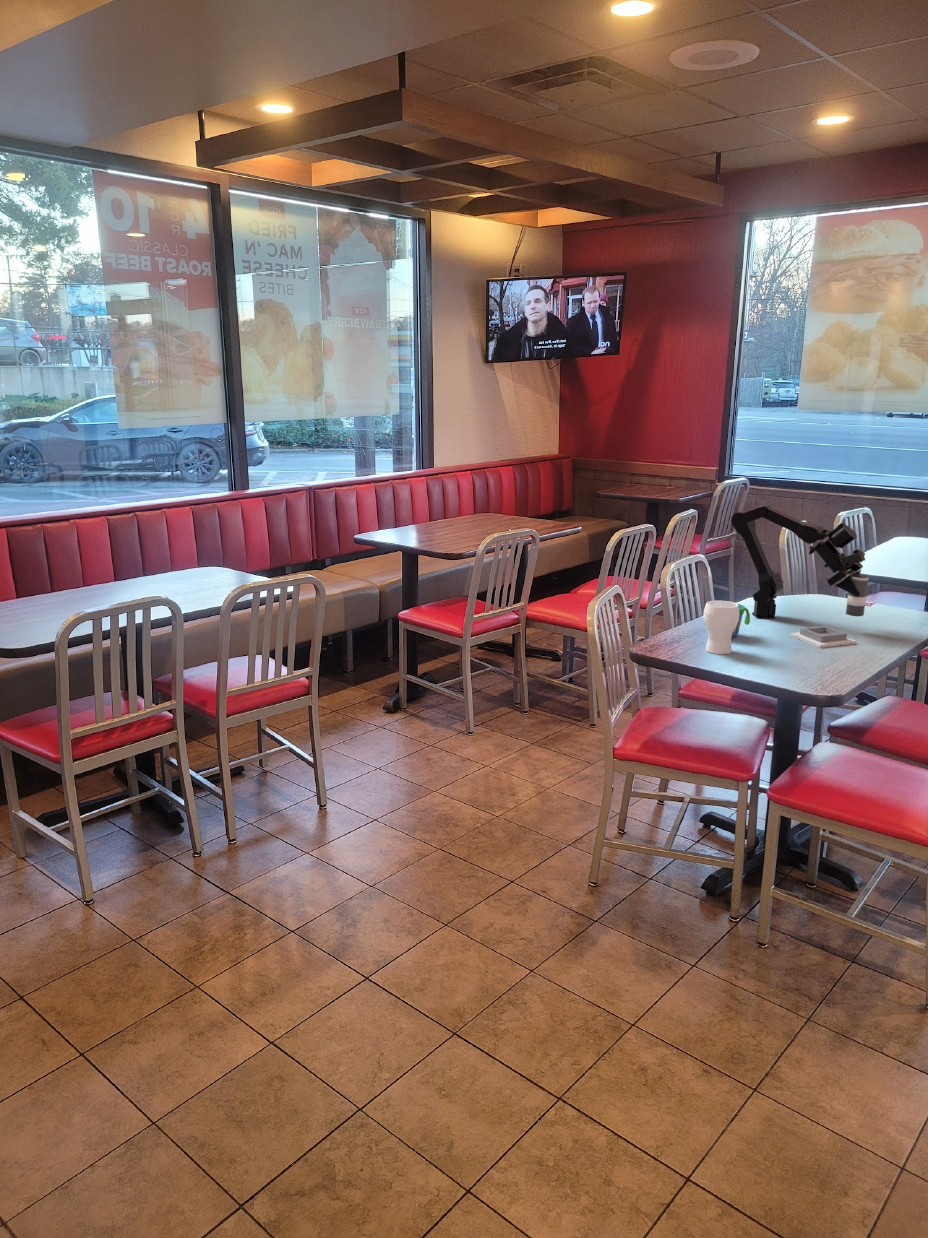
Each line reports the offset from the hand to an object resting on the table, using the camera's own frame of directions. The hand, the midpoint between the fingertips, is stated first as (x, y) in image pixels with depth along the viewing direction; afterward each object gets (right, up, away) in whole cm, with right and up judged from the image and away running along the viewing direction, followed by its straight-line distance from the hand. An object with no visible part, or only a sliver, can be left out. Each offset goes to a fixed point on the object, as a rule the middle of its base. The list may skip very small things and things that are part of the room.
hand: (861, 594), depth 296 cm
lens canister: (-1, -7, +3) cm, 7 cm away
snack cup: (-45, -14, 0) cm, 47 cm away
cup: (-52, -18, -16) cm, 57 cm away
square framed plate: (-15, -15, -5) cm, 21 cm away
